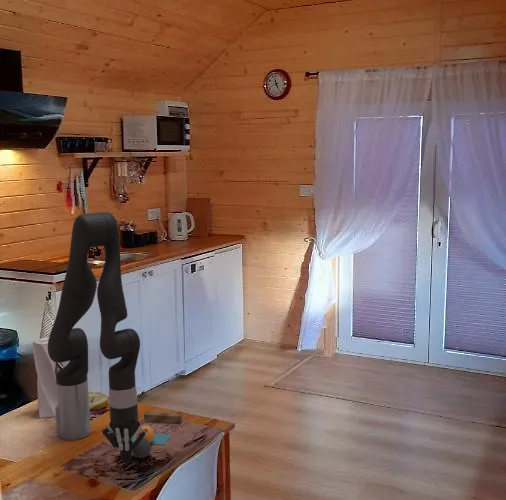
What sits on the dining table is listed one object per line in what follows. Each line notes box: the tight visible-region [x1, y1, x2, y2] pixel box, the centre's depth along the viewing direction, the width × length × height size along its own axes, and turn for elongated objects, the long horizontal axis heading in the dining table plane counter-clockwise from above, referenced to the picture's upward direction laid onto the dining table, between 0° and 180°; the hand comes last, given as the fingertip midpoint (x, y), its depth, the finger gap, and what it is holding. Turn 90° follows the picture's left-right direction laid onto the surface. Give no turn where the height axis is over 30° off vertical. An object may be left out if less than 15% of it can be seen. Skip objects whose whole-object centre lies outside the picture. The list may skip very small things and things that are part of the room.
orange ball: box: [136, 425, 155, 443], centre depth 190 cm, size 6×6×6 cm
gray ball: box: [132, 438, 152, 459], centre depth 181 cm, size 6×6×6 cm
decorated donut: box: [88, 391, 109, 411], centre depth 220 cm, size 10×11×4 cm
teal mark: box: [132, 432, 173, 446], centre depth 193 cm, size 12×7×1 cm, turn 78°
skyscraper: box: [32, 332, 58, 419], centre depth 211 cm, size 8×8×28 cm
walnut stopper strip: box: [143, 411, 183, 425], centre depth 205 cm, size 12×2×2 cm, turn 79°
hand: (126, 461), depth 176 cm, fingers closed
